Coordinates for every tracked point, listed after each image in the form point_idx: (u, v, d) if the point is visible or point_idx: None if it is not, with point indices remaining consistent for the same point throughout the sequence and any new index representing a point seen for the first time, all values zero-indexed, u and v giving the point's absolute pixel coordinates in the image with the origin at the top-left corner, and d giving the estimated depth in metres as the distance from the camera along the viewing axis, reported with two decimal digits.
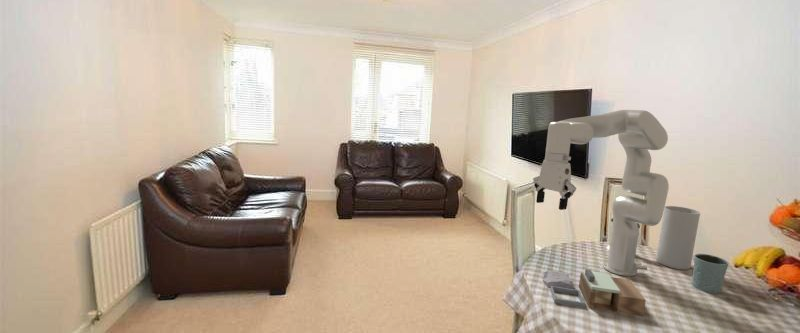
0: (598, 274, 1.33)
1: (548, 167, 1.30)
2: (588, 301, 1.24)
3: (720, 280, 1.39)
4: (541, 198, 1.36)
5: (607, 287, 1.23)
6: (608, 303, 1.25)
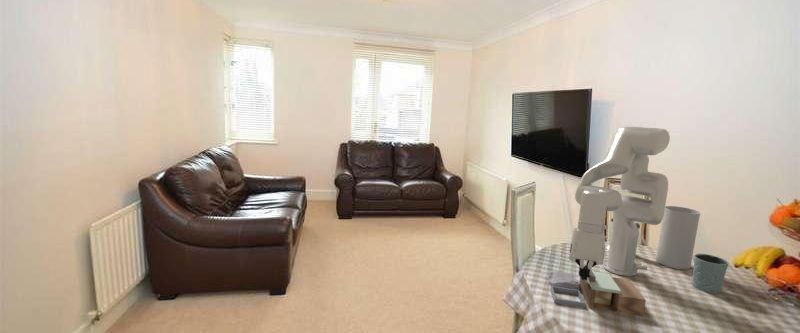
0: (599, 275, 1.33)
1: (587, 238, 1.24)
2: (588, 301, 1.24)
3: (720, 280, 1.39)
4: None
5: (607, 287, 1.23)
6: (608, 303, 1.25)
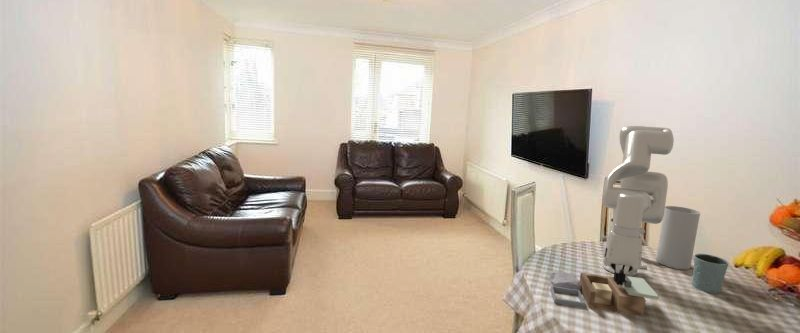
0: (633, 279, 1.30)
1: (624, 243, 1.21)
2: (588, 301, 1.24)
3: (720, 280, 1.39)
4: None
5: (644, 292, 1.21)
6: (608, 303, 1.25)
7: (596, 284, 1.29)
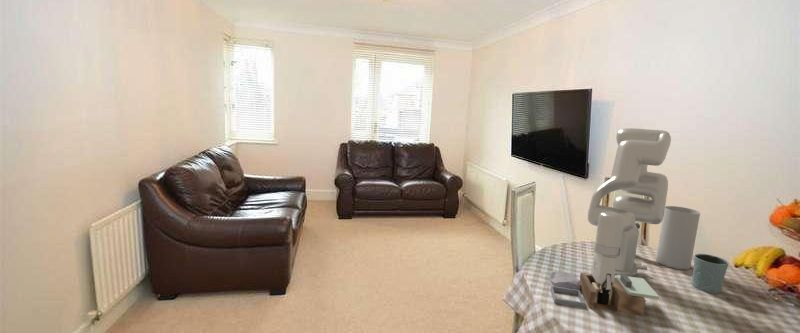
0: (633, 279, 1.30)
1: None
2: (588, 301, 1.24)
3: (720, 280, 1.39)
4: None
5: (645, 293, 1.21)
6: (608, 303, 1.25)
7: (596, 284, 1.29)
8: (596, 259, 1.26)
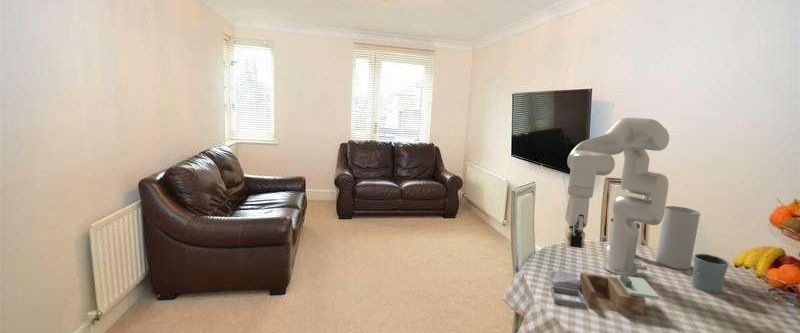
0: (633, 279, 1.30)
1: None
2: (588, 301, 1.24)
3: (720, 280, 1.39)
4: None
5: (645, 293, 1.21)
6: (581, 246, 1.22)
7: (570, 228, 1.26)
8: (569, 202, 1.24)
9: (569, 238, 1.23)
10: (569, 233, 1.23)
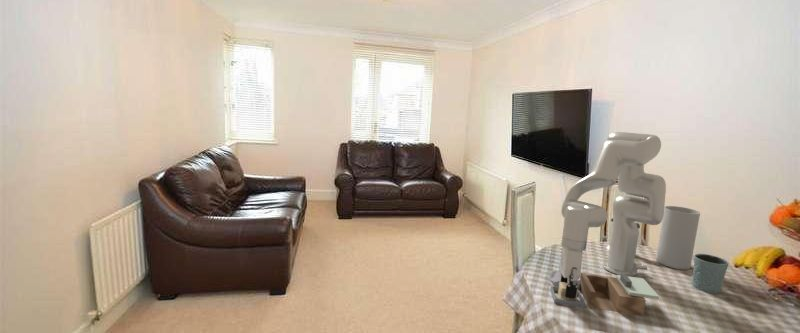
0: (633, 279, 1.30)
1: None
2: (588, 301, 1.24)
3: (720, 280, 1.39)
4: None
5: (645, 293, 1.21)
6: None
7: (563, 283, 1.29)
8: (563, 253, 1.26)
9: (562, 294, 1.26)
10: (562, 289, 1.26)
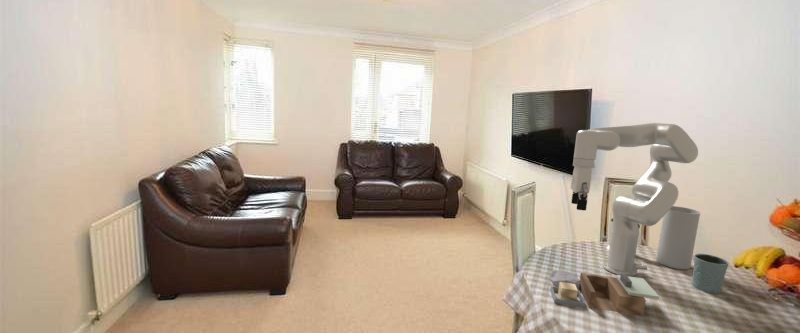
0: (633, 279, 1.30)
1: None
2: (588, 301, 1.24)
3: (720, 280, 1.39)
4: None
5: (645, 293, 1.21)
6: None
7: (563, 283, 1.29)
8: (574, 173, 1.43)
9: (562, 294, 1.26)
10: (562, 289, 1.26)
